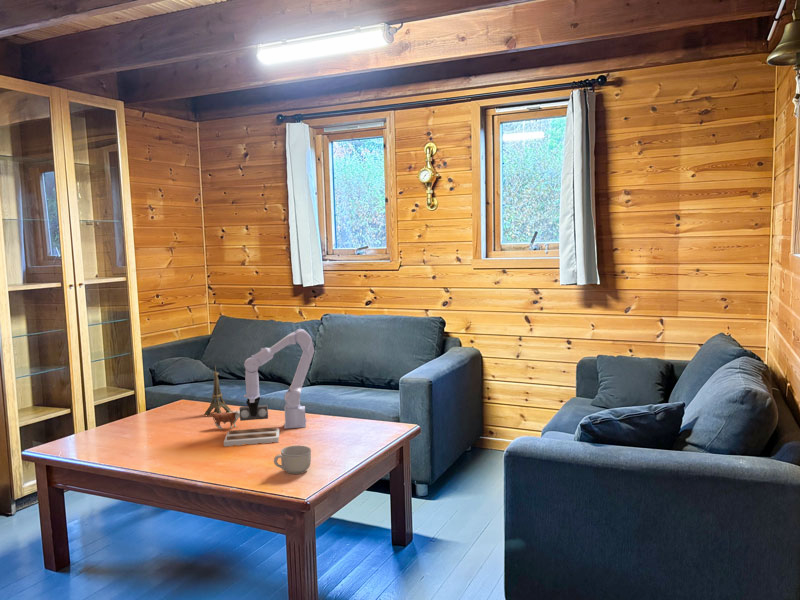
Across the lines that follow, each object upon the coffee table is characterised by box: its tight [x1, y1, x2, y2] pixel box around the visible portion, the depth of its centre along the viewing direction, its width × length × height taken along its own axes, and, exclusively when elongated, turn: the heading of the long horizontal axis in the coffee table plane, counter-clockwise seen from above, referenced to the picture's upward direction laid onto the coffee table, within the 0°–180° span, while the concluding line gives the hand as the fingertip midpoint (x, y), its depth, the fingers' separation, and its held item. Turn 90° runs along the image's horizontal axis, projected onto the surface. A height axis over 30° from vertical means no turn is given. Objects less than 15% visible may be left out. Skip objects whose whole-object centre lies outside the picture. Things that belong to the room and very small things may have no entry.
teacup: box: [273, 445, 312, 475], centre depth 224 cm, size 14×11×8 cm
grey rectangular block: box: [239, 404, 269, 422], centre depth 279 cm, size 12×3×6 cm, turn 99°
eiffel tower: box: [203, 364, 233, 417], centre depth 309 cm, size 11×11×25 cm
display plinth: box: [223, 426, 280, 447], centre depth 265 cm, size 22×14×3 cm, turn 99°
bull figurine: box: [212, 409, 240, 430], centre depth 284 cm, size 4×13×8 cm, turn 89°
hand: (254, 415), depth 279 cm, fingers closed on grey rectangular block, 3 cm apart
